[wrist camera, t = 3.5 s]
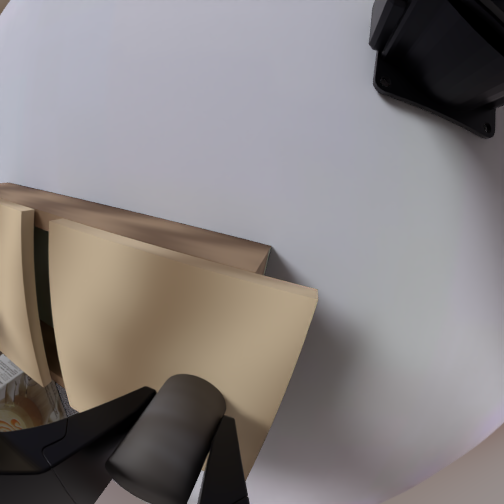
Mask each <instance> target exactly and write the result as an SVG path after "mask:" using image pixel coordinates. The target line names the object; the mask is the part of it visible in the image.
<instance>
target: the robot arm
mask: <svg viewBox="0 0 504 504" xmlns="http://www.w3.org/2000/svg"><path fill="white" fill-rule="evenodd" d="M369 45H370V46H371V48H372V49H373V50H376V51H377V53H376V61H375V70H374V77H373V85H374V87H375V89H376V90H377V91H378V92H379V93H381V94H384V95H387V96H390V97H393V98H395V99H398V100H401V101H404V102H406V103H409V104H411V105H414V106H417V107H419V108H422V109H424V110H426V111H429V112H431V113H433V114H436V115H438V116H440V117H442V118H444V119H447V120H449V121H451V122H453V123H455V124H457V125H459V126H461V127H463V128H465V129H467V130H469V131H471V132H473V133H475V134H476V135H478V136H480V137H482V138H485V139H487V138H491V137H493V136H494V133H495V111H496V108H497V107H500V106H503V105H504V0H375V2H374V5H373V8H372V18H371V29H370V38H369ZM381 79H383V80H386V81H387V82H388V83H389V87H385V86H384V85H382V83H381V81H380V80H381ZM484 125H485V126H486V128H487V132H486V131H485V129H484ZM156 394H157V392H156V390H155V389H153V388H151V387H148V386H144V387H142V388H139V389H137V390H135V391H132V392H130V393H128V394H125V395H123V396H121V397H118V398H116V399H113V400H111V401H109V402H106V403H104V404H101V405H99V406H96V407H94V408H91V409H88V410H86V411H83V412H81V413H78V414H75V415H72V416H70V417H68V418H64V419H61V420H58V421H55V422H52V423H49V424H45V425H40V426H36V427H31V428H26V429H20V430H14V431H7V432H0V504H94V503H95V502H96V500H97V499H98V498H99V496H100V495H101V494H102V492H103V491H104V489H105V488H106V487H107V485H108V484H109V483H110V481H111V480H112V477H111V476H110V475H109V474H108V472H107V470H106V468H105V462H106V461H107V460H108V458H109V457H110V456H111V454H112V453H113V452H114V450H115V449H116V448H117V446H118V445H119V444H120V442H121V441H122V440H123V438H124V437H125V436H126V434H127V433H128V431H129V430H130V429H131V427H132V426H133V425H134V423H135V422H136V421H137V419H138V418H139V417H140V415H141V414H142V413H143V411H144V410H145V409H146V407H147V406H148V405H149V403H150V402H151V401H152V399H153V398H154V397H155V395H156ZM247 496H248V493H247V488H246V482H245V477H244V471H243V465H242V460H241V454H240V448H239V441H238V435H237V429H236V422H235V419H234V418H233V417H229V416H226V415H223V416H222V418H221V421H220V423H219V425H218V428H217V430H216V432H215V435H214V437H213V440H212V443H211V447H210V451H209V455H208V459H207V463H206V467H205V470H204V475H203V479H202V484H201V489H200V493H199V498H198V502H197V504H250V503H249V498H248V497H247Z"/></svg>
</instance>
